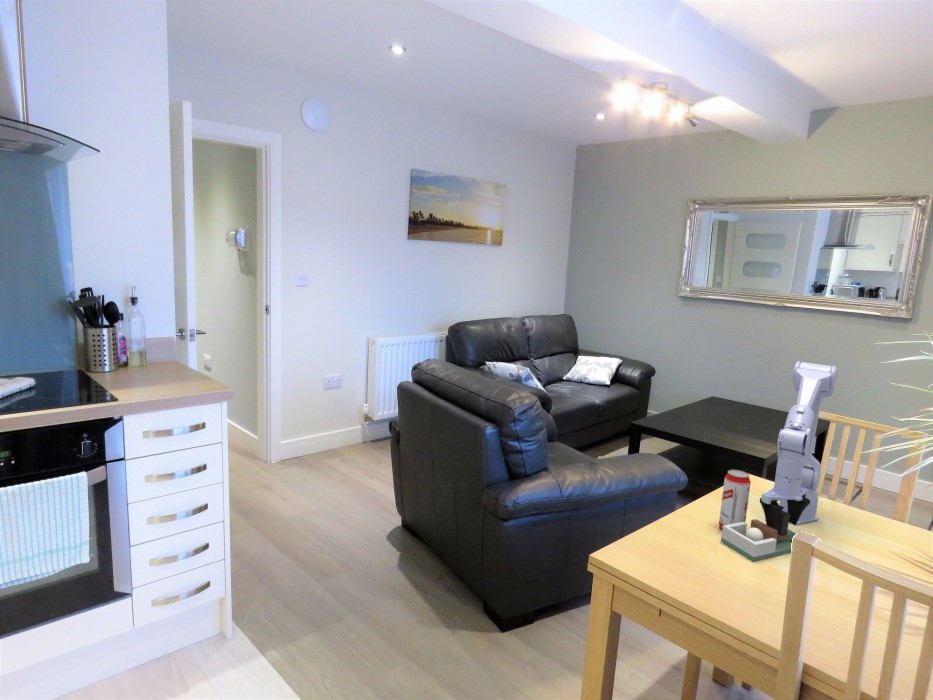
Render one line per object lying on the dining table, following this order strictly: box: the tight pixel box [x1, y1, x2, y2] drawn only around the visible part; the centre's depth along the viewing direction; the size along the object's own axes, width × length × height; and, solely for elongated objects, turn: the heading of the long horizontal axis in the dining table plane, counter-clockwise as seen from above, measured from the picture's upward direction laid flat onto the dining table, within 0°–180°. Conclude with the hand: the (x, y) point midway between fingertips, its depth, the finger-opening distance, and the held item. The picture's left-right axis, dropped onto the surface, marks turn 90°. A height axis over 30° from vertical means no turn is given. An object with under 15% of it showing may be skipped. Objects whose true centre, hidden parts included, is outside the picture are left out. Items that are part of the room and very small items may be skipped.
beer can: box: [718, 469, 752, 529], centre depth 152 cm, size 6×6×16 cm
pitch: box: [720, 522, 796, 562], centre depth 146 cm, size 21×10×4 cm, turn 113°
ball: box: [746, 527, 763, 542], centre depth 144 cm, size 4×4×4 cm
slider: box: [749, 510, 790, 542], centre depth 146 cm, size 8×6×6 cm
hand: (781, 525), depth 147 cm, fingers open, 7 cm apart
